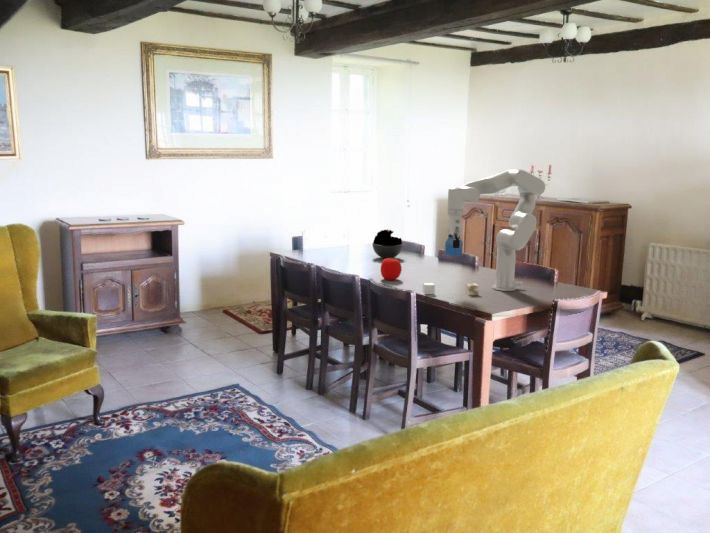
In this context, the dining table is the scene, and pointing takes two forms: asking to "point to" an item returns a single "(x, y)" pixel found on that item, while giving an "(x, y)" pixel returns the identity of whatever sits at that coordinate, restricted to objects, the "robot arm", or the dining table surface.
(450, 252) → the perfume bottle
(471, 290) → the birch block
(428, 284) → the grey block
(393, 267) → the tomato
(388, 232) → the coal bowl
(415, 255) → the dining table surface
